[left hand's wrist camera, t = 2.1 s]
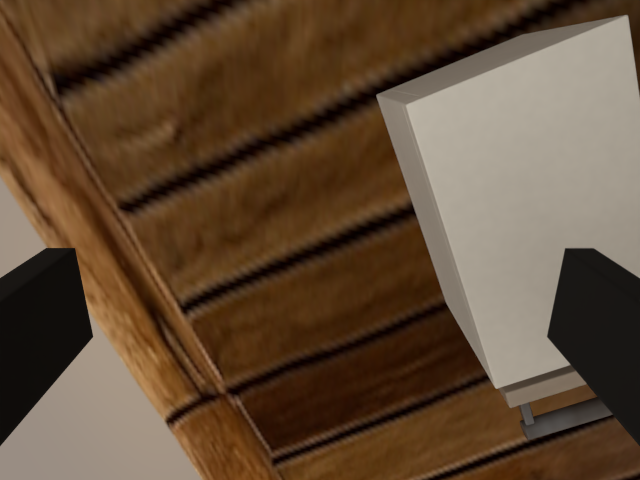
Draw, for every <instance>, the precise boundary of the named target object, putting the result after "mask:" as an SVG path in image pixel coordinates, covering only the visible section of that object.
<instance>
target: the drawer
mask: <svg viewBox="0 0 640 480" xmlns="http://www.w3.org/2000/svg"><path fill="white" fill-rule="evenodd" d="M585 384H587V383H586V382H585V381H584V380H583V379H582V377H581V376H580V375H579V374H578V373H577V372H576V370H575V369H574V368H573V367H572V366H571V365H569V366H566V367H563V368H560V369H556V370H553V371H550V372H547V373H544V374H541V375H538V376H535V377H531V378H528V379H525V380H522V381H519V382H516V383H513V384H510V385H507V386H503V387H500V388H498V389H499V390H500V392H501V394H502V396H503V397H504V399H505V401H506V402H507V404H508V406H509V407H510V408H512V407H515V406H519V408H520V412H521V415H522V418H523V420H521V421H520V425H521V428H522V430H523V433H524V435H525V436H526V438H527V439H528V440H531V439H534V438H537V437H541V436H544V435H547V434H550V433H554V432H557V431H560V430H564V429H567V428H570V427H573V426H577V425H580V424H583V423H587V422H590V421H593V420H596V419H600V418H603V417H606V416H610V415H613V414H612V413H611V412H610V410H609V409H608V408H607V407H606V406H605V405H604V403H603V402H602V401H601V400H600V399H599V397H596V398H592V399H589V400H586V401H583V402H579V403H576V404H573V405H570V406H567V407H563V408H560V409H557V410H554V411H550V412H547V413H544V414H541V415H538V416H534V417H533V415H532V411H531V408H530V404H529V402H531V401H535V400H538V399H541V398H544V397H547V396H550V395H554V394H557V393H560V392H563V391H566V390H569V389H573V388H576V387H579V386H582V385H585Z"/></svg>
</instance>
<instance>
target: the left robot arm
mask: <svg viewBox="0 0 640 480" xmlns="http://www.w3.org/2000/svg"><path fill="white" fill-rule="evenodd" d="M92 338H93V334H92V329H91V324H90V319H89V314H88V309H87V305H86V300H85V295H84V290H83V285H82V280H81V275H80V271H79V266H78V261H77V256H76V251H75V248H46V249H44V250H43V251H41V252H40V253H38V254H37V255H35V256H34V257H32V258H30V259H29V260H27V261H26V262H24V263H23V264H21V265H20V266H18V267H17V268H15V269H14V270H12V271H10V272H9V273H7V274H6V275H4V276H3V277H1V278H0V446H1V444H2V443H3V442H4V441H5V440H6V439H7V437H8V436H9V435H10V434H11V433H12V432H13V430H14V429H15V428H16V427H17V426H18V424H19V423H20V422H21V421H22V420H23V419H24V417H25V416H26V415H27V414H28V413H29V411H30V410H31V409H32V408H33V407H34V406H35V404H36V403H37V402H38V401H39V400H40V399H41V397H42V396H43V395H44V394H45V393H46V391H47V390H48V389H49V388H50V387H51V386H52V385H53V383H54V382H55V381H56V380H57V379H58V377H59V376H60V375H61V374H62V373H63V372H64V370H65V369H66V368H67V367H68V366H69V365H70V363H71V362H72V361H73V360H74V359H75V358H76V356H77V355H78V354H79V353H80V352H81V350H82V349H83V348H84V347H85V346H86V345H87V343H88V342H89V341H90V340H91V339H92ZM547 338H548V339H549V340H550V341H551V342H552V343H553V345H554V346H555V347H556V348H557V349H558V350H559V352H560V353H561V354H562V355H563V356H564V358H565V359H566V360H567V361H568V362H569V363H570V365H571V366H572V367H573V368H574V369H575V370H576V372H577V373H578V374H579V375H580V376H581V377H582V379H583V380H584V381H585V382H586V383H587V385H588V386H589V387H590V388H591V389H592V390H593V392H594V393H595V394H596V395H597V396H598V397H599V399H600V400H601V401H602V402H603V403H604V405H605V406H606V407H607V408H608V409H609V410H610V412H611V413H612V414H613V415H614V416H615V417H616V419H617V420H618V421H619V422H620V423H621V425H622V426H623V427H624V428H625V429H626V430H627V432H628V433H629V434H630V435H631V436H632V437H633V439H634V440H635V441H636V442H637V443H638V444H639V446H640V278H639V277H637V276H636V275H634V274H633V273H631V272H630V271H628V270H626V269H625V268H623V267H622V266H620V265H619V264H617V263H616V262H614V261H613V260H611V259H610V258H608V257H606V256H605V255H603V254H602V253H600V252H599V251H597V250H596V249H594V248H565V251H564V256H563V261H562V266H561V271H560V275H559V280H558V285H557V290H556V295H555V300H554V304H553V309H552V314H551V319H550V324H549V329H548V334H547Z"/></svg>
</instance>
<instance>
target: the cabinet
mask: <svg viewBox="0 0 640 480" xmlns="http://www.w3.org/2000/svg"><path fill="white" fill-rule="evenodd" d="M376 96H377V99H378V102H379V105H380V108H381V111H382V114H383V117H384V120H385V123H386V126H387V129H388V132H389V135H390V138H391V141H392V144H393V147H394V150H395V153H396V156H397V159H398V162H399V165H400V168H401V171H402V173H403V176H404V179H405V182H406V185H407V188H408V191H409V194H410V197H411V200H412V203H413V206H414V209H415V212H416V215H417V218H418V221H419V224H420V227H421V230H422V233H423V236H424V239H425V242H426V245H427V248H428V250H429V253H430V256H431V259H432V262H433V265H434V268H435V271H436V274H437V277H438V280H439V283H440V286H441V289H442V292H443V295H444V298H445V301H446V304H447V305H448V307H449V309H450V310H451V312H452V314H453V316H454V317H455V319H456V321H457V323H458V324H459V326H460V328H461V329H462V331H463V333H464V335H465V336H466V338H467V340H468V342H469V343H470V345H471V347H472V348H473V350H474V352H475V354H476V355H477V357H478V359H479V361H480V362H481V364H482V366H483V367H484V369H485V371H486V373H487V374H488V376H489V378H490V380H491V381H492V383H493V385H494V387H495V388H496V389H497V388H500V387H503V386H507V385H510V384H513V383H516V382H519V381H522V380H525V379H528V378H531V377H535V376H538V375H541V374H544V373H547V372H550V371H553V370H556V369H560V368H563V367H566V366H569V365H570V363H569V362H568V361H567V360H566V359H565V358H564V356H563V355H562V354H561V353H560V352H559V350H558V349H557V348H556V347H555V346H554V345H553V343H552V342H551V341H550V340H549V339H548V338H547V334H548V329H549V324H550V319H551V314H552V309H553V304H554V300H555V295H556V290H557V285H558V280H559V275H560V271H561V266H562V261H563V256H564V251H565V248H594V249H596V250H597V251H599V252H600V253H602V254H603V255H605V256H606V257H608V258H610V259H611V260H613V261H614V262H616V263H617V264H619V265H620V266H622V267H623V268H625V269H626V270H628V271H630V272H631V273H633V274H634V275H636V276H637V277H639V278H640V95H639V88H638V81H637V74H636V67H635V60H634V53H633V46H632V39H631V32H630V25H629V18H628V15H623V16H618V17H614V18H608V19H603V20H597V21H592V22H587V23H581V24H576V25H571V26H565V27H560V28H555V29H549V30H544V31H539V32H534V33H529V34H523V35H520V36H518V37H515V38H513V39H511V40H508V41H506V42H503V43H501V44H498V45H496V46H494V47H491V48H489V49H486V50H484V51H481V52H479V53H477V54H474V55H472V56H469V57H467V58H464V59H462V60H460V61H457V62H455V63H452V64H450V65H447V66H445V67H443V68H440V69H438V70H435V71H433V72H430V73H428V74H426V75H423V76H421V77H418V78H416V79H413V80H411V81H409V82H406V83H404V84H401V85H399V86H396V87H394V88H392V89H389V90H387V91H384V92H382V93H379V94H377V95H376Z"/></svg>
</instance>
